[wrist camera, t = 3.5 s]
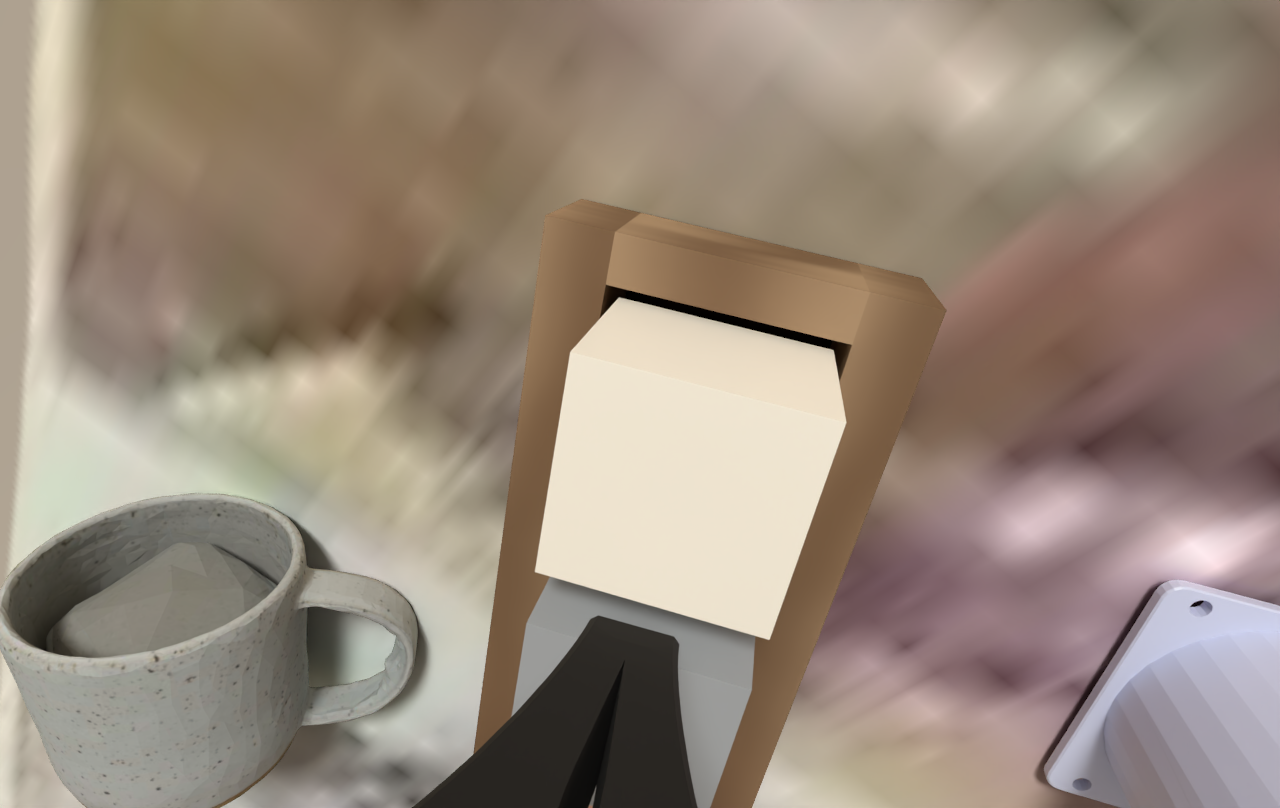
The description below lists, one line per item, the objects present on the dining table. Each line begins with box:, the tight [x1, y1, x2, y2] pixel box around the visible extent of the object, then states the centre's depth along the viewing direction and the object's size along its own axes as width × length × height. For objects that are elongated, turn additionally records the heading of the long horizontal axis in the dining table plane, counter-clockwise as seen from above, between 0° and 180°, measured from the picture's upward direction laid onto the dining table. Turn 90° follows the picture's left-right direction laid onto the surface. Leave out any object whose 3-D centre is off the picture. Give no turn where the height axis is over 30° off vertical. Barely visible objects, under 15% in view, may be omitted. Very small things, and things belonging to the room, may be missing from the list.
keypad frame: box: [474, 199, 946, 808], centre depth 22 cm, size 9×27×3 cm, turn 169°
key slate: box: [511, 577, 755, 808], centre depth 18 cm, size 5×5×4 cm
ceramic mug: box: [0, 493, 418, 808], centre depth 23 cm, size 11×8×8 cm
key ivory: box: [535, 297, 846, 640], centre depth 15 cm, size 5×5×4 cm
